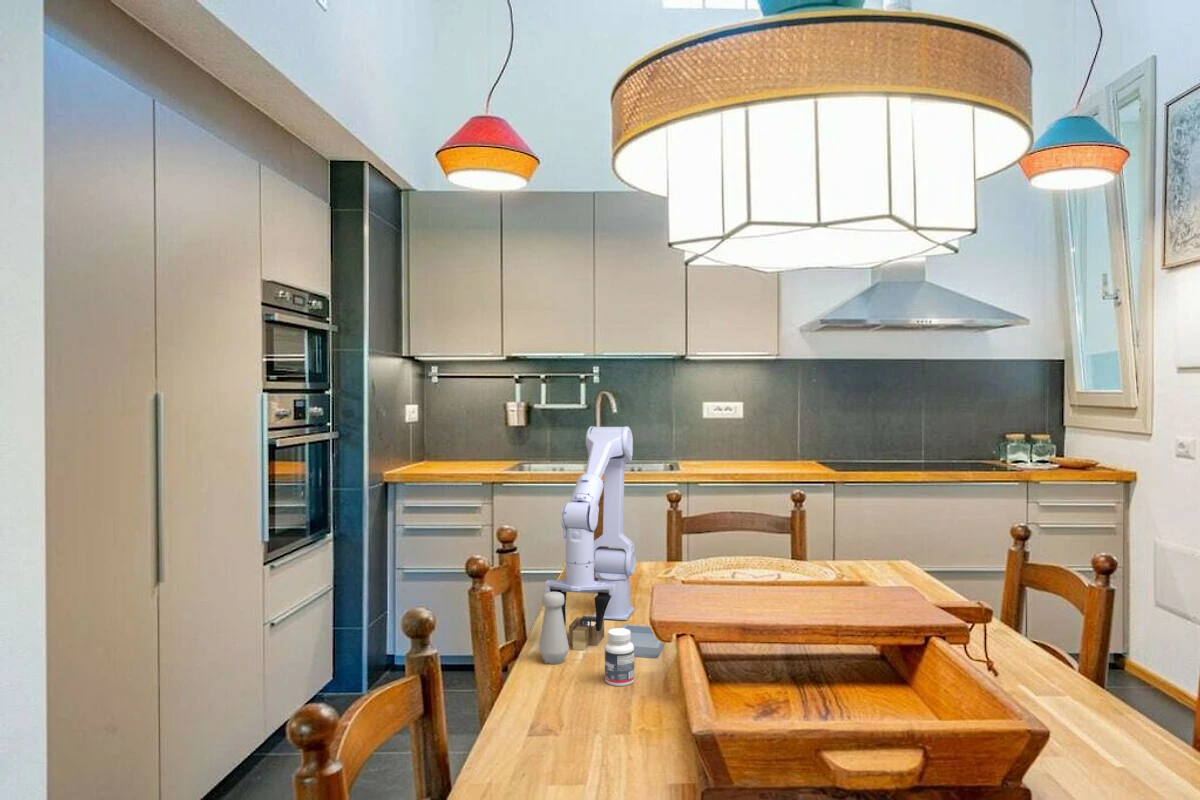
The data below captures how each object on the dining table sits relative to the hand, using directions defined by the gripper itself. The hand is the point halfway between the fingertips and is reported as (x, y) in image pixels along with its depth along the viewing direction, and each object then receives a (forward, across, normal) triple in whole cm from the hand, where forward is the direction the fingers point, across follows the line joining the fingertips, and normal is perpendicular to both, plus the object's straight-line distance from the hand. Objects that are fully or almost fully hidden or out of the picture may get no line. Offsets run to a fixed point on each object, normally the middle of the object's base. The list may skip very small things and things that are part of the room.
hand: (580, 628), depth 146 cm
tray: (+4, +12, +4) cm, 13 cm away
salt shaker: (+4, -3, -8) cm, 10 cm away
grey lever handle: (+4, +1, +5) cm, 6 cm away
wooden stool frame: (+4, 0, +3) cm, 5 cm away
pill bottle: (+4, +12, -15) cm, 20 cm away
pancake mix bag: (+4, -9, +49) cm, 50 cm away
